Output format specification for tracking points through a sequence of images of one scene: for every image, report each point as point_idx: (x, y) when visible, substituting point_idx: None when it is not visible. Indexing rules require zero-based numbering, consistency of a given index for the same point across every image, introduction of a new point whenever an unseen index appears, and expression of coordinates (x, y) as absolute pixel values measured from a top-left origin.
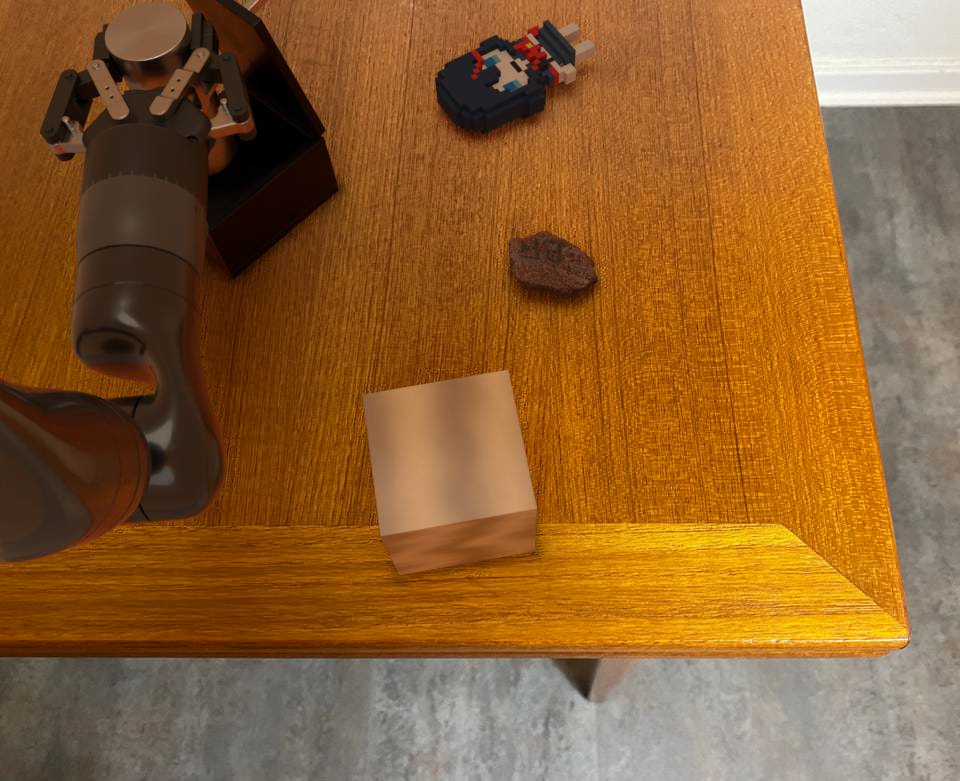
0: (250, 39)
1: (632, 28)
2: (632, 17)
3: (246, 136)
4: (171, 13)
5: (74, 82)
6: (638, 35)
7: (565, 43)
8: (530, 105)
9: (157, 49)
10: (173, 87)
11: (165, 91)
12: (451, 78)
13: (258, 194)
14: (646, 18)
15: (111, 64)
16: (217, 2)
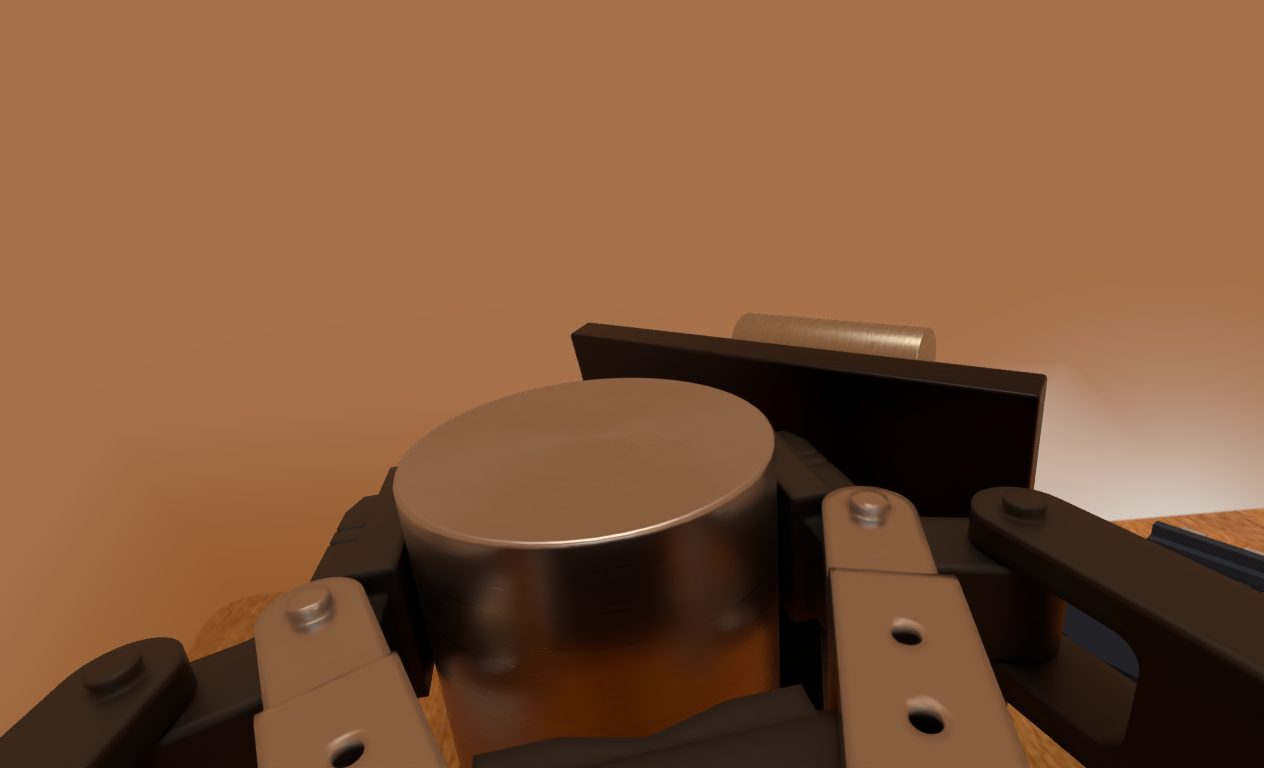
0: (908, 495)
1: (1233, 537)
2: (1211, 524)
3: None
4: (675, 392)
5: (125, 722)
6: (1257, 546)
7: (1242, 551)
8: None
9: (677, 486)
10: (915, 695)
11: (870, 739)
12: (1082, 634)
13: None
14: (1235, 523)
15: (398, 603)
16: (809, 372)
